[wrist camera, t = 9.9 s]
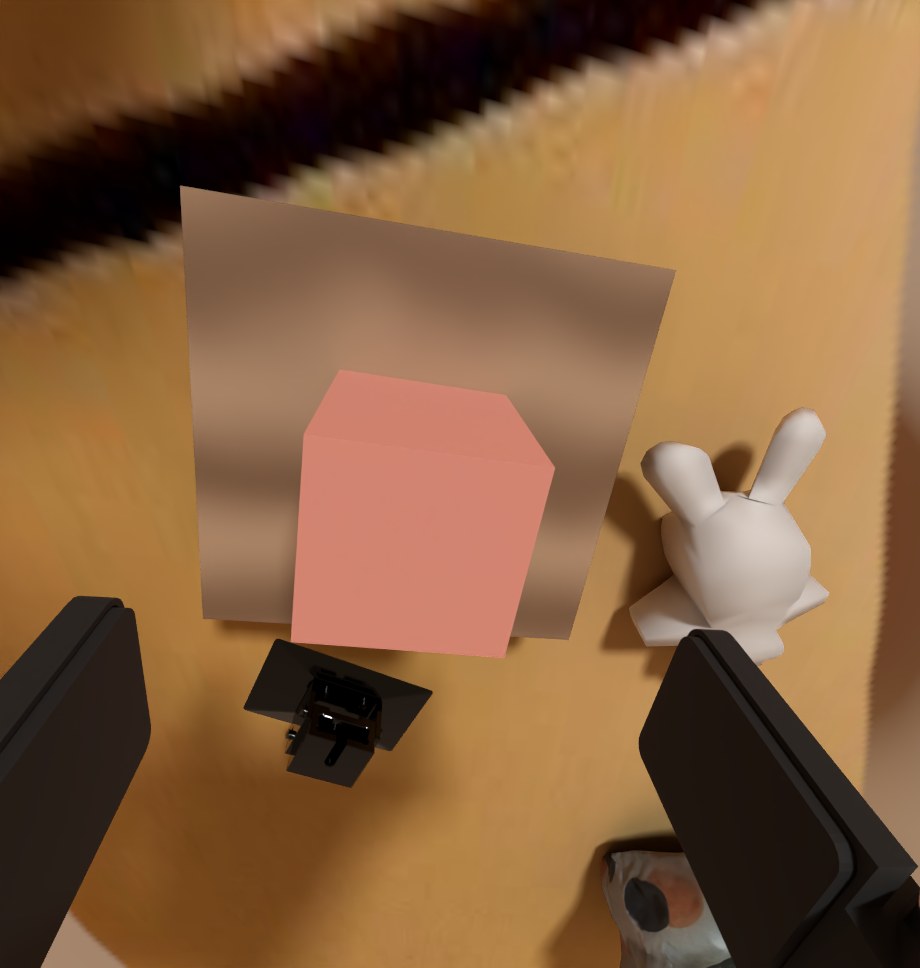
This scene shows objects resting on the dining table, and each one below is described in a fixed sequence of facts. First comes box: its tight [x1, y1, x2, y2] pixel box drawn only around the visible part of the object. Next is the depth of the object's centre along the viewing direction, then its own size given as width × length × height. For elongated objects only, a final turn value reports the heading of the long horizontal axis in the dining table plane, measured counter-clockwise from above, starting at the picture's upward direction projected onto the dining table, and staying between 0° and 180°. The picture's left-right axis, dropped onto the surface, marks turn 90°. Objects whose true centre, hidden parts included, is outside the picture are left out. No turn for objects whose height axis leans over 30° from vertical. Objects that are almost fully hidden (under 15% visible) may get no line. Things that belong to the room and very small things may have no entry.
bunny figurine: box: [629, 407, 829, 666], centre depth 26 cm, size 10×5×15 cm
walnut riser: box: [180, 186, 676, 640], centre depth 22 cm, size 16×16×5 cm
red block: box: [291, 369, 555, 658], centre depth 17 cm, size 6×6×7 cm
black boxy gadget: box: [244, 639, 433, 788], centre depth 29 cm, size 12×7×5 cm, turn 61°
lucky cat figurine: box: [601, 850, 736, 968], centre depth 35 cm, size 15×12×14 cm
